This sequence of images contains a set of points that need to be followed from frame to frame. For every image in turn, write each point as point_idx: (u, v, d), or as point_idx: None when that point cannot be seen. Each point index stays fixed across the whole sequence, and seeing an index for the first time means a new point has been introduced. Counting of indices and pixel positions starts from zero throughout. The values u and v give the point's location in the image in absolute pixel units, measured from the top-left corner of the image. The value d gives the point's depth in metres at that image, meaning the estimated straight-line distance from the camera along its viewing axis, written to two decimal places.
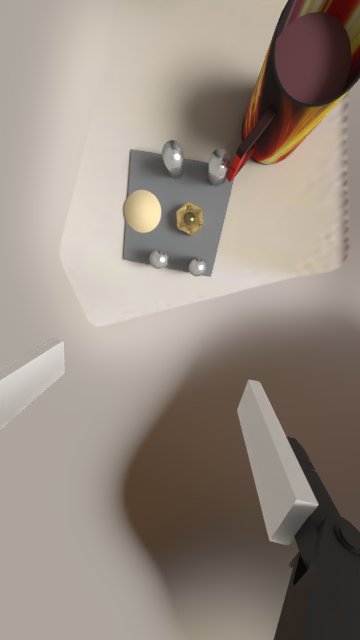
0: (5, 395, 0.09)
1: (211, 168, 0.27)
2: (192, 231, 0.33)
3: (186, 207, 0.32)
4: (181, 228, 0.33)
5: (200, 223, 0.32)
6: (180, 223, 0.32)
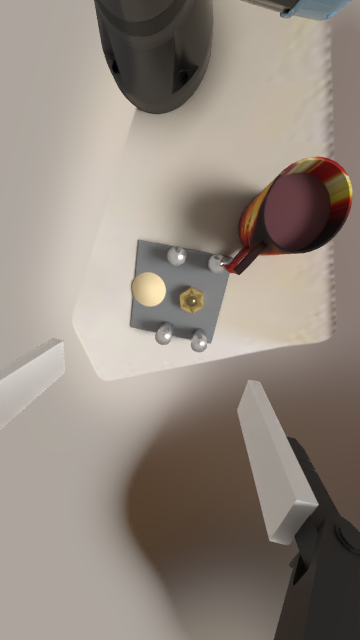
0: (5, 395, 0.09)
1: (211, 269, 0.31)
2: (194, 311, 0.36)
3: (188, 292, 0.35)
4: (184, 308, 0.36)
5: (201, 305, 0.36)
6: (183, 304, 0.36)
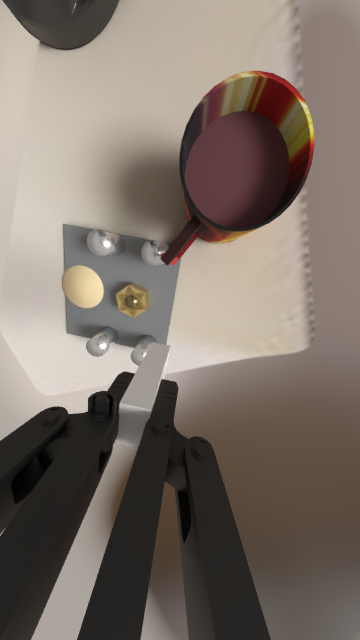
0: None
1: (145, 260, 0.23)
2: (135, 314, 0.29)
3: (126, 290, 0.28)
4: (123, 311, 0.29)
5: (143, 307, 0.28)
6: (121, 306, 0.28)
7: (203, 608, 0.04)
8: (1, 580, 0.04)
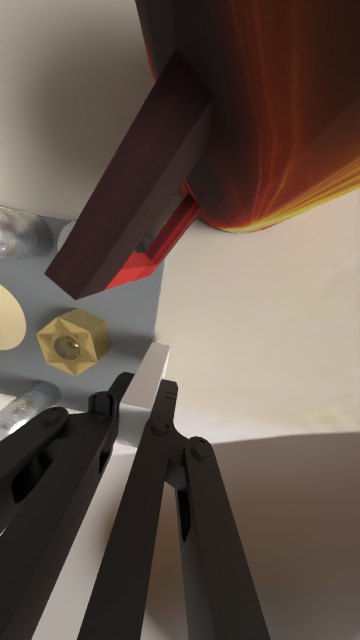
0: None
1: None
2: (78, 371, 0.15)
3: (55, 327, 0.14)
4: (54, 364, 0.15)
5: (92, 358, 0.14)
6: (50, 355, 0.15)
7: (203, 608, 0.04)
8: (1, 581, 0.04)
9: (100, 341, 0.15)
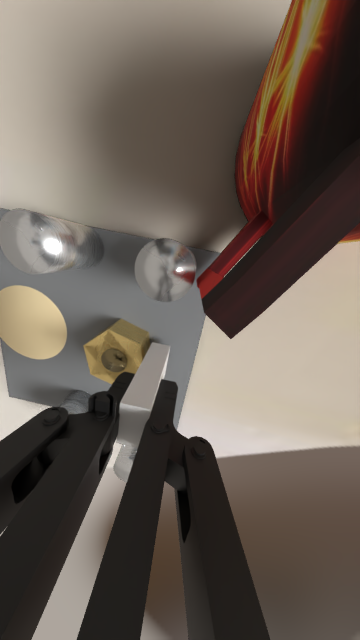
0: None
1: (143, 287, 0.09)
2: None
3: (104, 339, 0.14)
4: (98, 376, 0.15)
5: None
6: (95, 367, 0.14)
7: (203, 608, 0.04)
8: (1, 580, 0.04)
9: None
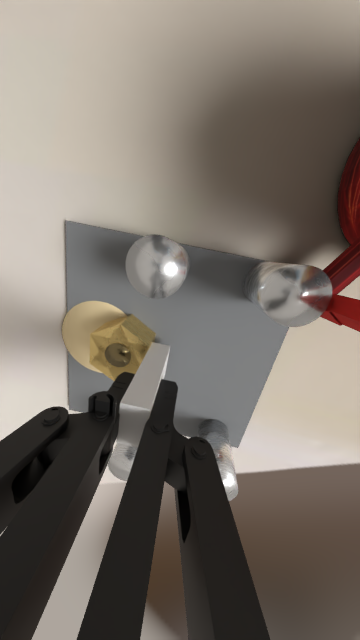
0: None
1: (271, 312, 0.09)
2: None
3: (113, 333, 0.13)
4: (97, 366, 0.14)
5: None
6: (96, 357, 0.14)
7: (203, 607, 0.04)
8: (1, 580, 0.04)
9: None
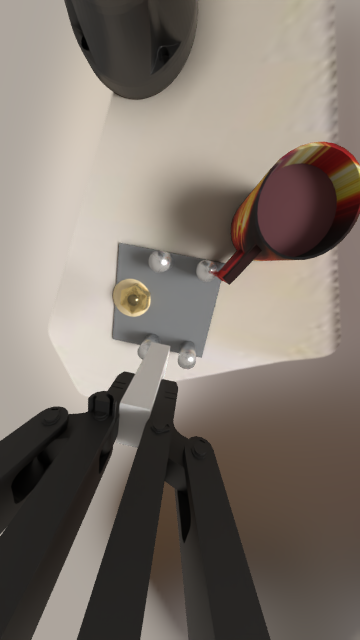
0: None
1: (199, 276, 0.27)
2: (134, 311, 0.32)
3: (131, 289, 0.31)
4: (123, 306, 0.32)
5: (143, 307, 0.32)
6: (123, 301, 0.32)
7: (203, 608, 0.04)
8: (1, 581, 0.04)
9: (147, 301, 0.32)
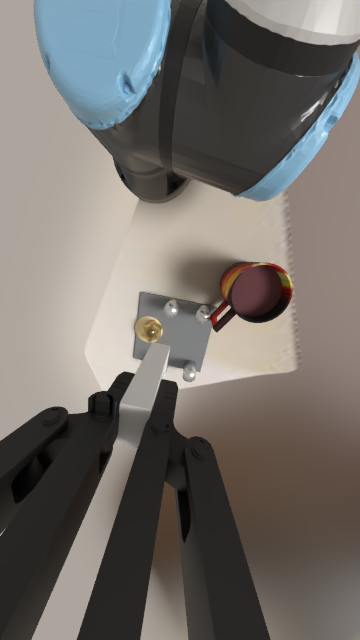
0: None
1: (197, 321, 0.39)
2: (151, 340, 0.45)
3: (149, 325, 0.43)
4: (143, 336, 0.45)
5: (157, 337, 0.44)
6: (143, 333, 0.44)
7: (203, 608, 0.04)
8: (1, 580, 0.04)
9: (160, 333, 0.45)
